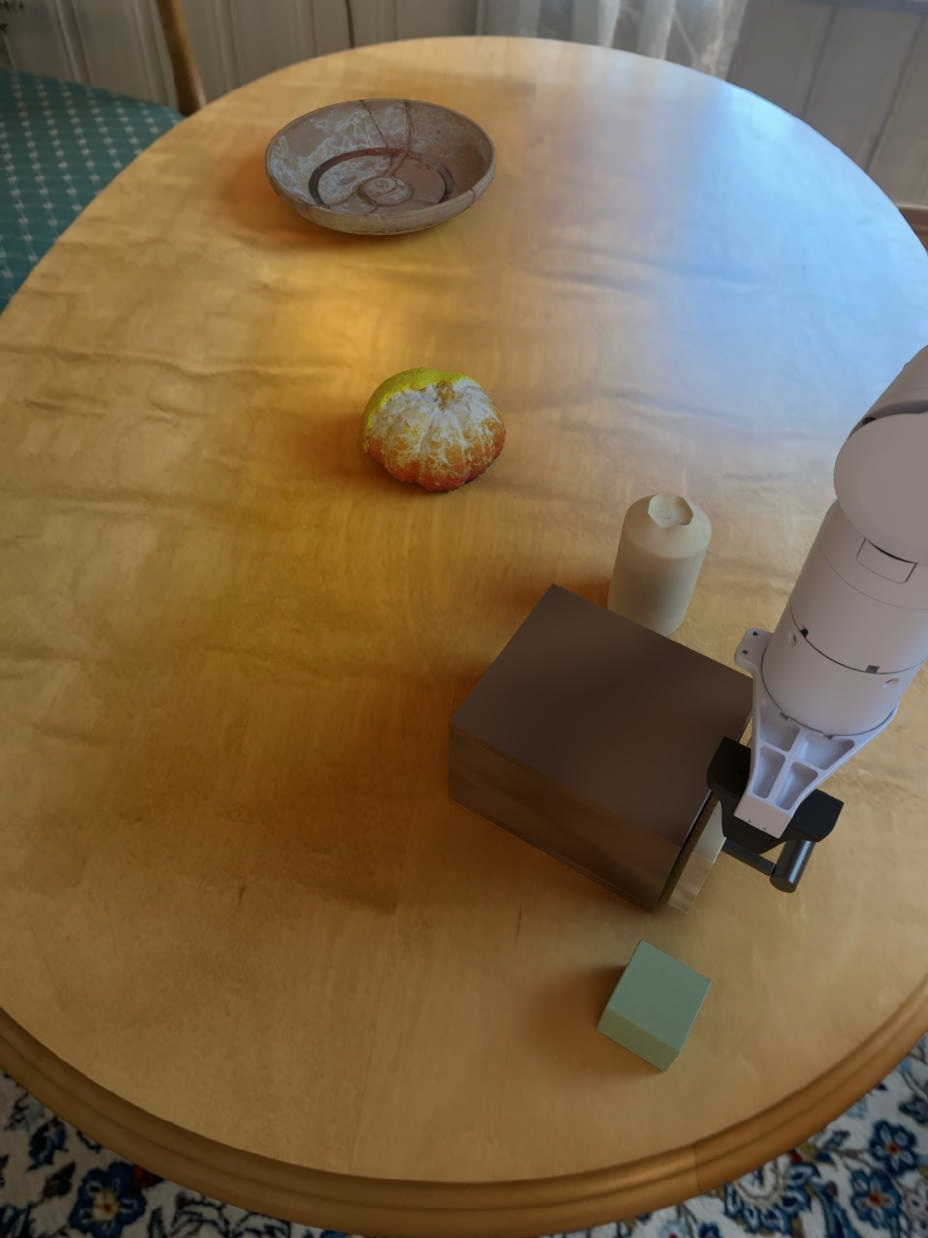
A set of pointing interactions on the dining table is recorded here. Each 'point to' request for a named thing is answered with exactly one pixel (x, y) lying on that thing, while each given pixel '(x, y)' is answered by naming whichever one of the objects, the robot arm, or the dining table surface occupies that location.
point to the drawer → (712, 841)
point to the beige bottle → (659, 561)
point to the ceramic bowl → (380, 165)
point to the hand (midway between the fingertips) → (772, 781)
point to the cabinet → (596, 742)
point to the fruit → (432, 428)
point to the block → (654, 1006)
